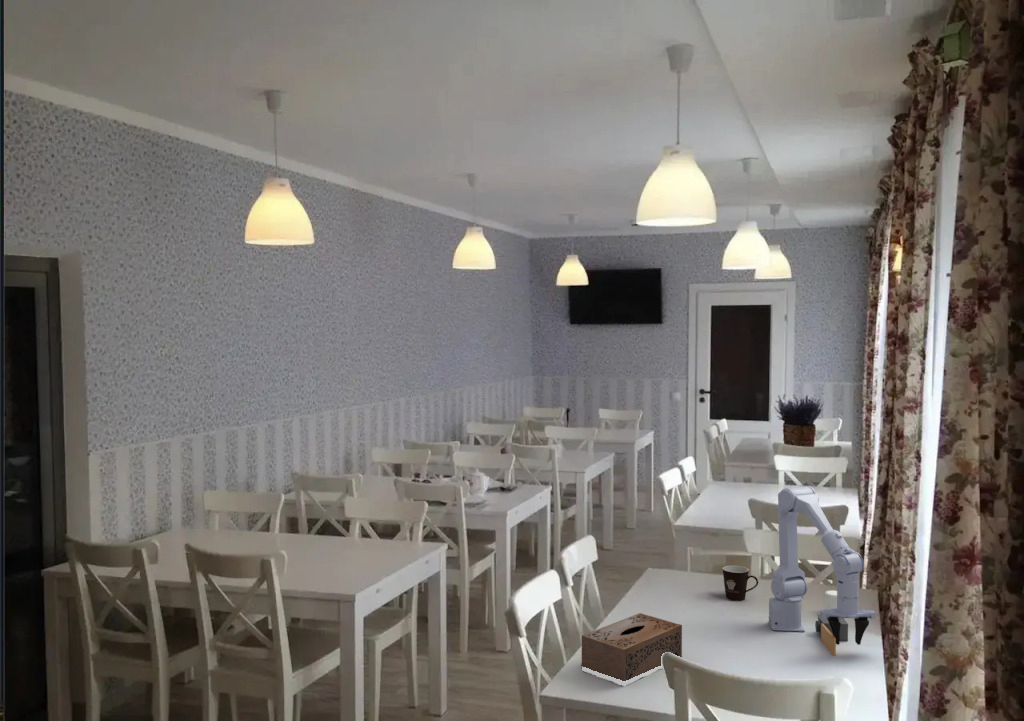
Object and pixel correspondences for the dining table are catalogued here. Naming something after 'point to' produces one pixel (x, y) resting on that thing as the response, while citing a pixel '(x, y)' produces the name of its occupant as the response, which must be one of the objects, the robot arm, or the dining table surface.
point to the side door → (828, 639)
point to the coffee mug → (736, 582)
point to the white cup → (831, 599)
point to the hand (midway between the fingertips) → (847, 643)
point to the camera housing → (842, 629)
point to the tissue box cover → (630, 646)
